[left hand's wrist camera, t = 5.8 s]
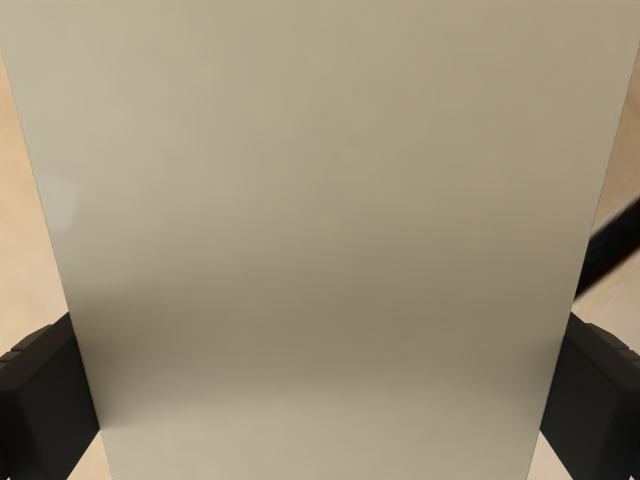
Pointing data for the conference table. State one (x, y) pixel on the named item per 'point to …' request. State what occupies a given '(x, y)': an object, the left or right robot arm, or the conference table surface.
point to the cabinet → (319, 221)
